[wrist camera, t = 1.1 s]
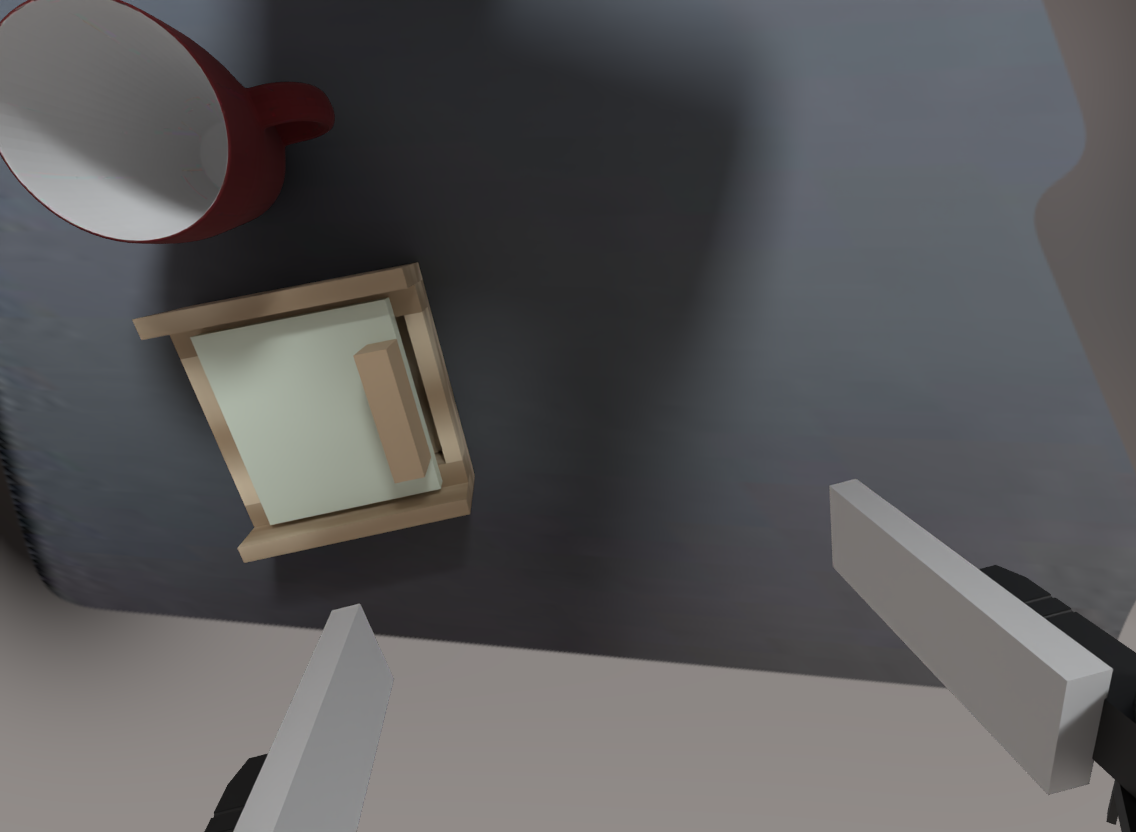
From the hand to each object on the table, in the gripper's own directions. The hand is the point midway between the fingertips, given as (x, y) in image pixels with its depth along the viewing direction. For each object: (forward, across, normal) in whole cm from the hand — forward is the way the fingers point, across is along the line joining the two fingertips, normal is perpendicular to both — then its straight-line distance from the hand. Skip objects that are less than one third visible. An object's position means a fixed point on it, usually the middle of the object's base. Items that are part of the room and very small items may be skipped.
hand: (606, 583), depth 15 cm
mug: (+21, -12, +16) cm, 29 cm away
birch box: (+21, -13, +2) cm, 24 cm away
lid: (+18, -13, +2) cm, 22 cm away
